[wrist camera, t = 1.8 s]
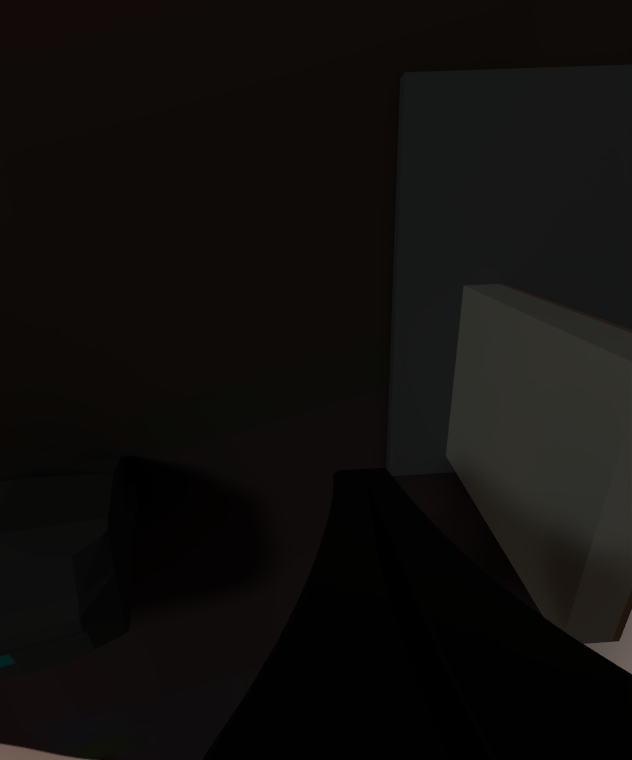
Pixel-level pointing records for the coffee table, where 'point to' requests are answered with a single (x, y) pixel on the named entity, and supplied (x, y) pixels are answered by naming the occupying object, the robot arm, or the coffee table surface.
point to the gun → (64, 562)
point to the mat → (500, 219)
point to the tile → (549, 450)
